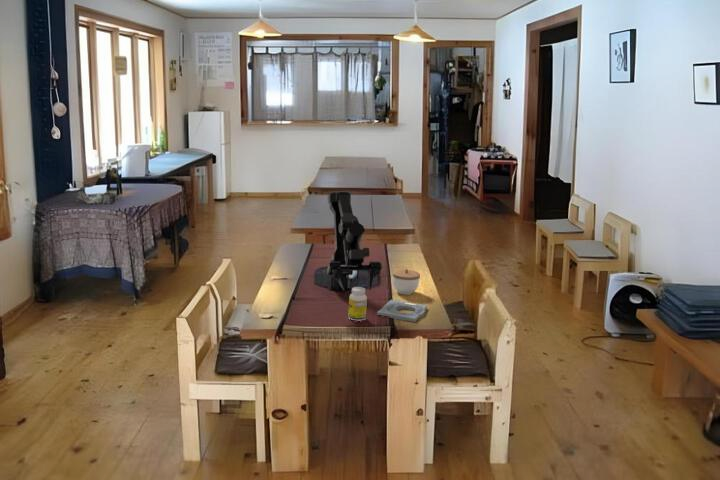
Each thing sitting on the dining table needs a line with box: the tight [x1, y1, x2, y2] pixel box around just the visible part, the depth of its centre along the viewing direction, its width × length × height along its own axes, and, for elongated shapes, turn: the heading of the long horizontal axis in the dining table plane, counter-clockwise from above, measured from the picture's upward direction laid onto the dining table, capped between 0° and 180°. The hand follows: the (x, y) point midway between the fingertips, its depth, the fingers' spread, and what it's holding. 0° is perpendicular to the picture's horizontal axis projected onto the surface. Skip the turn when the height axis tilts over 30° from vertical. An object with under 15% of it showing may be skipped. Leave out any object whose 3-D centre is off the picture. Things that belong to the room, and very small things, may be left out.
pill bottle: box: [347, 286, 368, 322], centre depth 263 cm, size 6×6×11 cm
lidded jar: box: [392, 268, 421, 296], centre depth 296 cm, size 11×11×9 cm
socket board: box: [376, 299, 428, 323], centre depth 274 cm, size 15×16×1 cm
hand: (356, 289), depth 264 cm, fingers open, 9 cm apart
